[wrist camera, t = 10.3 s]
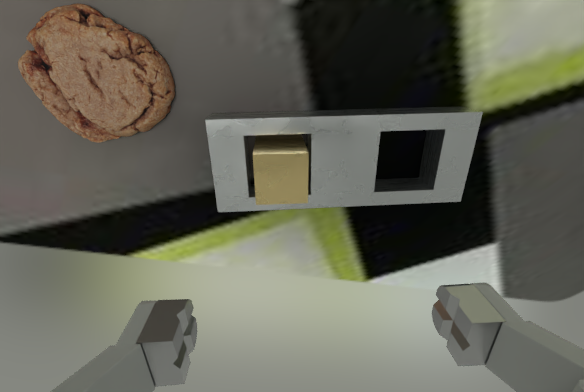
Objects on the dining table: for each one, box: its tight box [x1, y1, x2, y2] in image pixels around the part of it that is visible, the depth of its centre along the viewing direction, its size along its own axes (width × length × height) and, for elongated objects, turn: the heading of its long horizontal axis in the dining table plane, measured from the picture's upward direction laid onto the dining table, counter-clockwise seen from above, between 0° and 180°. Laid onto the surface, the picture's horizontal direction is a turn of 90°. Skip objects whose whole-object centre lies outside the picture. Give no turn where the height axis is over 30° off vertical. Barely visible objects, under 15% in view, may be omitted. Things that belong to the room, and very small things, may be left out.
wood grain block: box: [253, 134, 309, 205], centre depth 25 cm, size 4×4×6 cm
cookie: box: [18, 4, 175, 142], centre depth 23 cm, size 10×11×3 cm
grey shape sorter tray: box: [205, 106, 483, 212], centre depth 26 cm, size 22×8×3 cm, turn 91°
